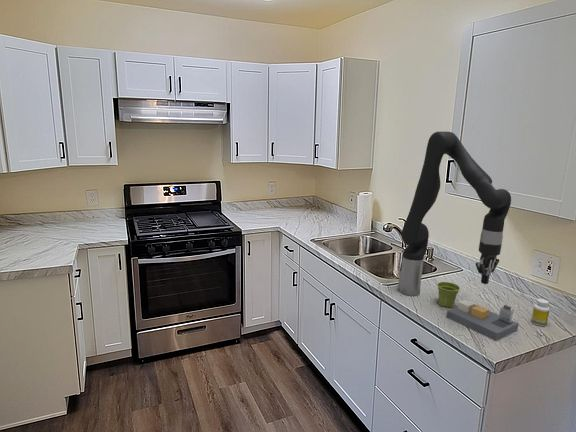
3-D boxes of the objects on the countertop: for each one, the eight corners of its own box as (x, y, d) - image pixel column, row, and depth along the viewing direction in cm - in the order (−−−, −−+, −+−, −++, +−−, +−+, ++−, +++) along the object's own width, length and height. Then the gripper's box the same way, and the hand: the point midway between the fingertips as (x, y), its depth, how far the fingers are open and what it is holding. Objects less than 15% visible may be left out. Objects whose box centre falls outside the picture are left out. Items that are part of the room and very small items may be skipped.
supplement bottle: (547, 327, 155) (552, 304, 153) (532, 324, 157) (536, 302, 155) (544, 321, 160) (549, 299, 158) (529, 318, 162) (533, 296, 160)
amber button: (470, 316, 158) (472, 307, 157) (477, 314, 161) (478, 305, 160) (481, 321, 155) (482, 312, 154) (487, 318, 157) (489, 309, 156)
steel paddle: (498, 319, 154) (501, 304, 153) (500, 318, 155) (503, 303, 154) (509, 323, 151) (511, 308, 150) (511, 322, 152) (513, 307, 150)
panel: (446, 317, 162) (447, 310, 161) (467, 308, 170) (468, 302, 169) (496, 340, 145) (497, 333, 144) (517, 330, 153) (518, 322, 152)
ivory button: (457, 310, 163) (458, 302, 162) (463, 308, 165) (465, 299, 165) (467, 315, 159) (468, 306, 158) (473, 312, 162) (475, 303, 161)
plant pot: (462, 306, 172) (465, 288, 170) (447, 310, 167) (449, 292, 165) (445, 298, 180) (447, 280, 178) (430, 301, 175) (432, 283, 173)
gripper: (491, 236, 157) (484, 277, 161) (471, 241, 150) (465, 283, 154) (509, 241, 151) (503, 283, 155) (490, 246, 144) (484, 290, 148)
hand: (484, 283), depth 154 cm, fingers closed
